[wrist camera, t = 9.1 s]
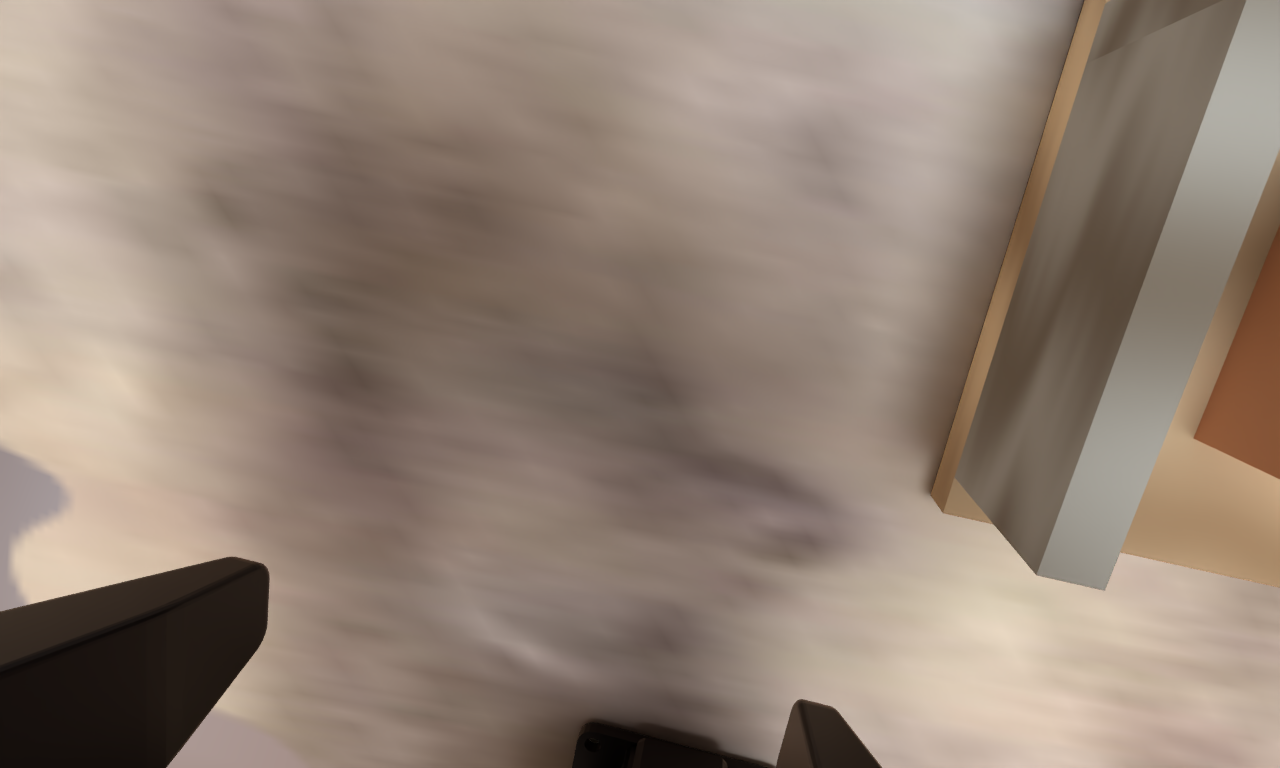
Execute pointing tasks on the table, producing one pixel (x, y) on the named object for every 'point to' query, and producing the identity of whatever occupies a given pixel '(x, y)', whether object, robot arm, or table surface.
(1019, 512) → the corner board
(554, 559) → the table surface
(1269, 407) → the block
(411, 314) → the table surface
